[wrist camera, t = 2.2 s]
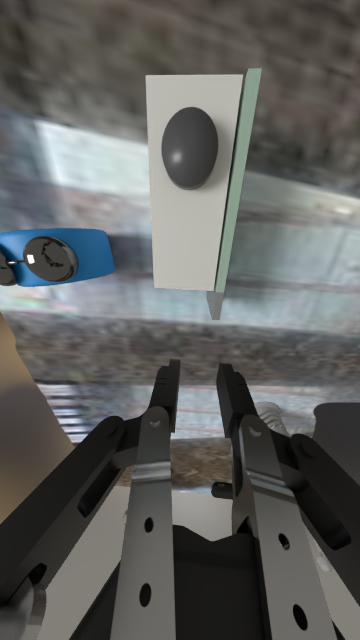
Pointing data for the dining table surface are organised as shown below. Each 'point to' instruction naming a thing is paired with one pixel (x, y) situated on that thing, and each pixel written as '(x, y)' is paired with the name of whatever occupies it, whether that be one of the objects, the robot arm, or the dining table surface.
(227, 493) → the carrying case or bag
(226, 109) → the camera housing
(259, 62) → the dining table surface
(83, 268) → the alarm clock
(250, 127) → the side door
